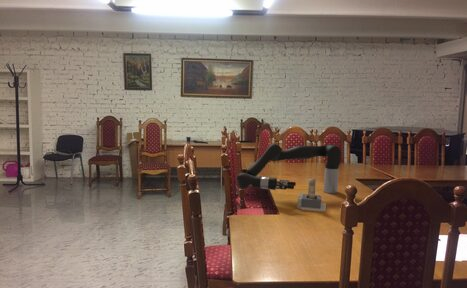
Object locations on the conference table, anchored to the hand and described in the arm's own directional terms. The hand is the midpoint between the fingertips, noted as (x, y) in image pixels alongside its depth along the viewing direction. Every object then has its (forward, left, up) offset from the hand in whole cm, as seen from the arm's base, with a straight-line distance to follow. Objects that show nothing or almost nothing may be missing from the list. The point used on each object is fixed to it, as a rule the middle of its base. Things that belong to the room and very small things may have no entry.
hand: (294, 185), depth 221 cm
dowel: (0, +10, -11) cm, 15 cm away
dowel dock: (0, +11, -12) cm, 16 cm away
